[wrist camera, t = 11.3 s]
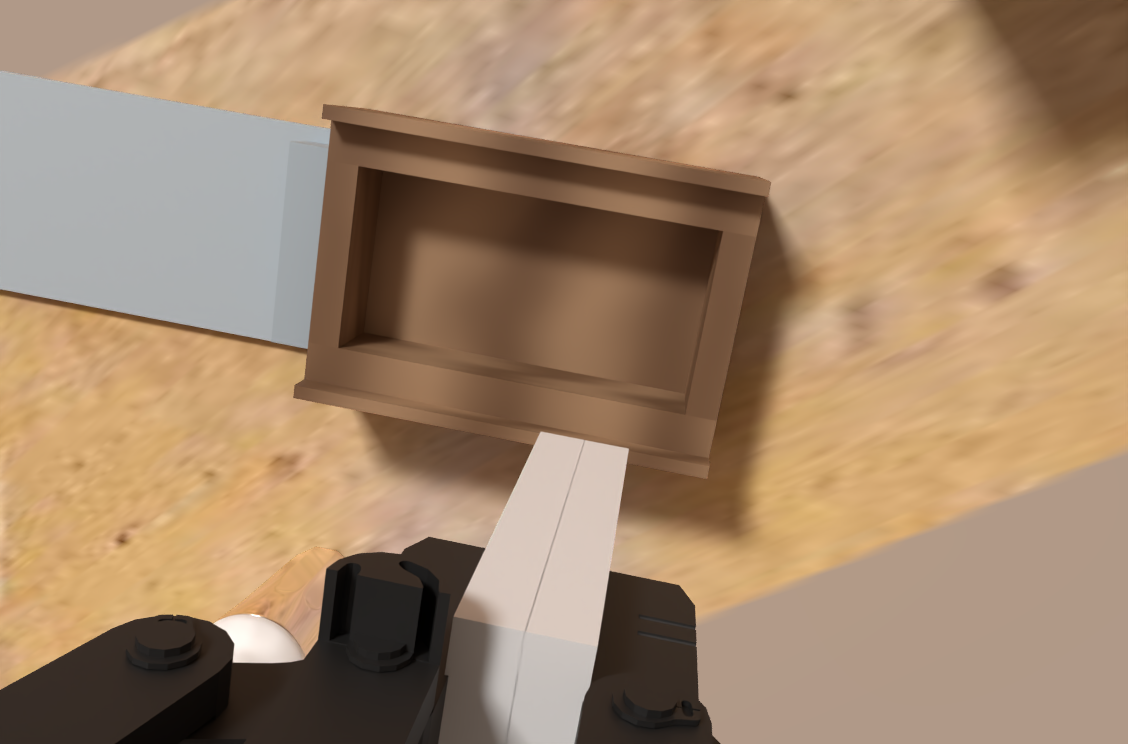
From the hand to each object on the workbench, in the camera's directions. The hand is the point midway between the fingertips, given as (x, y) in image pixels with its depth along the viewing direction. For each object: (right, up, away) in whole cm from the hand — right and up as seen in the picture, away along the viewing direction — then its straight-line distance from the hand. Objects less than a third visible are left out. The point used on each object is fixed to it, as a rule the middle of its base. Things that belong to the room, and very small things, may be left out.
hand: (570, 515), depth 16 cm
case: (-1, +6, +24) cm, 25 cm away
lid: (-17, +9, +26) cm, 32 cm away
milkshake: (-11, -7, +28) cm, 31 cm away
